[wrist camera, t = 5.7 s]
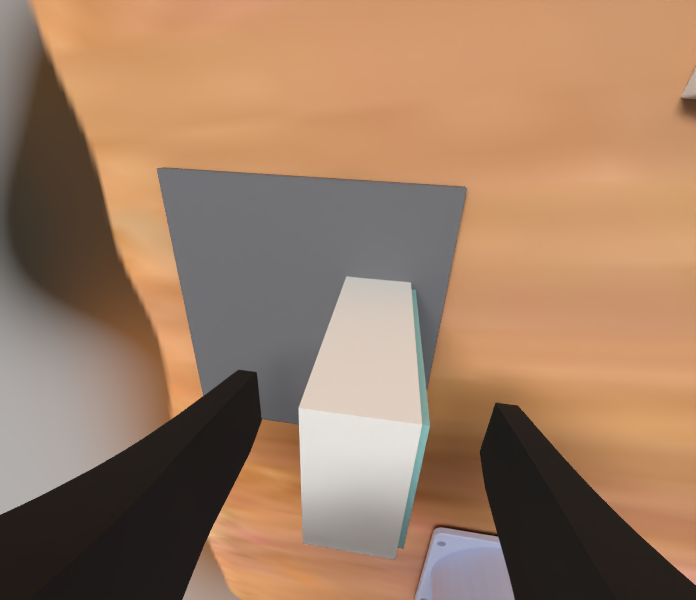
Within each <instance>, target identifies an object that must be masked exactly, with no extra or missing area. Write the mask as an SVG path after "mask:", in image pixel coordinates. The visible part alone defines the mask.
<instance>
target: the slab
mask: <svg viewBox="0 0 696 600" xmlns="http://www.w3.org/2000/svg"><path fill="white" fill-rule="evenodd" d="M429 428H430V420H429V410H428V401H427V392H426V382H425V373H424V363H423V354H422V344H421V335H420V326H419V316H418V307H417V297H416V290H412V289H411V282H400V281H390V280H379V279H368V278H357V277H347V276H346V279H345V282H344V284H343V287H342V290H341V293H340V295H339V298H338V301H337V304H336V306H335V309H334V312H333V315H332V317H331V320H330V323H329V326H328V328H327V331H326V334H325V337H324V339H323V342H322V345H321V348H320V350H319V353H318V356H317V359H316V361H315V364H314V367H313V370H312V372H311V375H310V378H309V381H308V383H307V386H306V389H305V392H304V394H303V397H302V400H301V403H300V405H299V437H300V466H301V496H302V525H303V544H308V545H314V546H320V547H325V548H331V549H336V550H342V551H348V552H353V553H359V554H365V555H370V556H376V557H381V558H387V559H393V560H395V558H396V553H397V548H402V549H403V548H404V544H405V539H406V535H407V530H408V525H409V521H410V516H411V511H412V507H413V502H414V498H415V493H416V488H417V484H418V479H419V475H420V470H421V465H422V461H423V456H424V451H425V447H426V442H427V438H428V433H429Z"/></svg>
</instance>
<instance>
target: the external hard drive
mask: <svg viewBox="0 0 696 600" xmlns="http://www.w3.org/2000/svg"><path fill="white" fill-rule="evenodd" d="M681 98H685V99H695V100H696V67H695V69H694V71H693V74H692V76H691V78H690V80H689V82H688V84H687V86H686V88H685V90H684V92H683V94H682V96H681Z"/></svg>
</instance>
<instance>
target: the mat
mask: <svg viewBox="0 0 696 600" xmlns="http://www.w3.org/2000/svg"><path fill="white" fill-rule="evenodd" d="M157 173H158V178H159V182H160V187H161V192H162V197H163V202H164V207H165V212H166V216H167V221H168V226H169V231H170V236H171V241H172V246H173V251H174V255H175V260H176V265H177V270H178V275H179V280H180V285H181V290H182V294H183V299H184V304H185V309H186V314H187V319H188V324H189V328H190V333H191V338H192V343H193V348H194V353H195V358H196V363H197V367H198V372H199V377H200V382H201V387H202V392H203V396H204V395H205V394H207V393H208V392H209V391H211V390H212V389H213V388H215V387H216V386H217V385H219V384H220V383H221V382H223V381H224V380H225V379H226V378H228V377H229V376H230V375H232V374H233V373H234V372H236V371H237V370H245V371H253V372H257V378H258V388H259V398H260V408H261V418H262V419H264V420H271V421H278V422H285V423H293V424H299V405H300V403H301V400H302V397H303V394H304V392H305V389H306V386H307V383H308V381H309V378H310V375H311V372H312V370H313V367H314V364H315V361H316V359H317V356H318V353H319V350H320V348H321V345H322V342H323V339H324V337H325V334H326V331H327V328H328V326H329V323H330V320H331V317H332V315H333V312H334V309H335V306H336V304H337V301H338V298H339V295H340V293H341V290H342V287H343V284H344V282H345V279H346V276H347V277H357V278H368V279H379V280H390V281H400V282H411V289H412V290H416V297H417V307H418V316H419V326H420V335H421V344H422V354H423V363H424V373H425V382H426V392H427V387H428V382H429V377H430V372H431V367H432V362H433V357H434V352H435V347H436V342H437V337H438V332H439V327H440V322H441V317H442V312H443V307H444V301H445V296H446V291H447V286H448V281H449V276H450V271H451V266H452V261H453V256H454V251H455V246H456V241H457V236H458V231H459V226H460V221H461V215H462V210H463V205H464V200H465V195H466V190H467V188H466V187H462V186H446V185H430V184H415V183H399V182H383V181H368V180H352V179H336V178H320V177H305V176H289V175H273V174H258V173H242V172H226V171H210V170H195V169H179V168H157Z"/></svg>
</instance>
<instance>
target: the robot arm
mask: <svg viewBox="0 0 696 600" xmlns="http://www.w3.org/2000/svg"><path fill="white" fill-rule="evenodd" d="M261 421H262V418H261V408H260V398H259V388H258V378H257V372H253V371H245V370H237V371H236V372H234V373H233V374H232V375H230V376H229V377H228V378H226V379H225V380H224V381H223V382H221V383H220V384H219V385H217V386H216V387H215V388H213V389H212V390H211V391H209V392H208V393H207V394H205V395H204V396H203V397H202V398H200V399H199V400H198V401H196V402H195V403H193V404H192V405H191V406H189V407H188V408H187V409H185V410H184V411H183V412H181V413H180V414H179V415H177V416H176V417H174V418H173V419H171V420H170V421H168V422H167V423H165V424H164V425H162V426H161V427H159V428H158V429H157V430H155V431H154V432H152V433H151V434H149V435H148V436H146V437H145V438H143V439H142V440H140V441H139V442H137V443H135V444H134V445H132V446H131V447H129V448H127V449H126V450H124V451H122V452H121V453H119V454H117V455H116V456H114V457H112V458H110V459H109V460H107V461H105V462H104V463H102V464H100V465H98V466H97V467H95V468H93V469H91V470H89V471H88V472H86V473H84V474H82V475H80V476H78V477H76V478H74V479H72V480H70V481H68V482H66V483H65V484H63V485H61V486H59V487H57V488H55V489H53V490H51V491H49V492H47V493H45V494H43V495H42V496H40V497H38V498H36V499H33V500H31V501H29V502H27V503H25V504H23V505H21V506H19V507H17V508H14V509H12V510H10V511H8V512H6V513H3V514H1V515H0V600H182V599H183V596H184V594H185V591H186V588H187V586H188V584H189V581H190V578H191V576H192V573H193V571H194V569H195V566H196V564H197V561H198V559H199V556H200V554H201V551H202V549H203V546H204V544H205V542H206V540H207V537H208V535H209V533H210V531H211V529H212V527H213V524H214V522H215V521H216V519H217V517H218V515H219V513H220V511H221V509H222V507H223V505H224V503H225V501H226V499H227V497H228V495H229V493H230V491H231V489H232V487H233V485H234V483H235V481H236V479H237V477H238V475H239V473H240V471H241V469H242V467H243V465H244V463H245V461H246V459H247V457H248V455H249V453H250V451H251V448H252V446H253V443H254V440H255V438H256V435H257V432H258V429H259V426H260V424H261ZM480 456H481V463H482V471H483V477H484V483H485V489H486V493H487V497H488V500H489V504H490V508H491V512H492V515H493V519H494V523H495V526H496V530H497V534H498V537H497V536H491V535H485V534H479V533H473V532H467V531H461V530H455V529H449V528H443V527H439V528H436V529H435V530H434V531H433V535H432V538H431V542H430V545H429V549H428V552H427V556H426V560H425V563H424V567H423V570H422V574H421V577H420V581H419V585H418V588H417V592H416V595H415V599H414V600H696V585H695V584H693V583H692V582H691V581H690V580H689V579H688V578H687V577H685V576H684V575H683V574H682V573H681V572H680V571H678V570H677V569H676V568H675V567H674V566H673V565H672V564H671V563H669V562H668V561H667V560H666V559H665V558H664V557H663V556H662V555H661V554H660V553H658V552H657V551H656V550H655V549H654V548H653V547H652V546H651V545H650V544H649V543H647V542H646V541H645V540H644V539H643V538H642V537H641V536H640V535H639V534H638V533H637V532H636V531H634V530H633V529H632V528H631V527H630V526H629V525H628V524H627V523H626V522H625V521H624V520H623V519H622V518H621V517H620V516H619V515H618V514H617V513H616V512H615V511H614V510H613V509H612V508H611V507H610V506H609V505H608V504H607V503H606V502H605V501H604V500H603V499H602V498H601V497H600V496H599V495H598V494H597V493H596V492H595V491H594V490H593V489H592V488H591V487H590V486H589V485H588V484H587V483H586V481H585V480H584V479H583V478H582V477H581V476H580V475H579V474H578V473H577V472H576V471H575V470H574V469H573V468H572V466H571V465H570V464H569V463H568V462H567V461H566V460H565V459H564V458H563V457H562V455H561V454H560V453H559V452H558V451H557V450H556V449H555V448H554V446H553V445H552V444H551V443H550V442H549V441H548V440H547V439H546V437H545V436H544V435H543V434H542V433H541V432H540V430H539V429H538V428H537V427H536V426H535V425H534V424H533V422H532V421H531V420H530V419H529V418H528V417H527V416H526V414H525V413H524V412H523V411H522V410H521V409H520V408H519V407H518V406H517V405H509V404H501V403H495V406H494V409H493V413H492V416H491V419H490V422H489V425H488V428H487V431H486V434H485V437H484V440H483V443H482V447H481V450H480Z"/></svg>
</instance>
